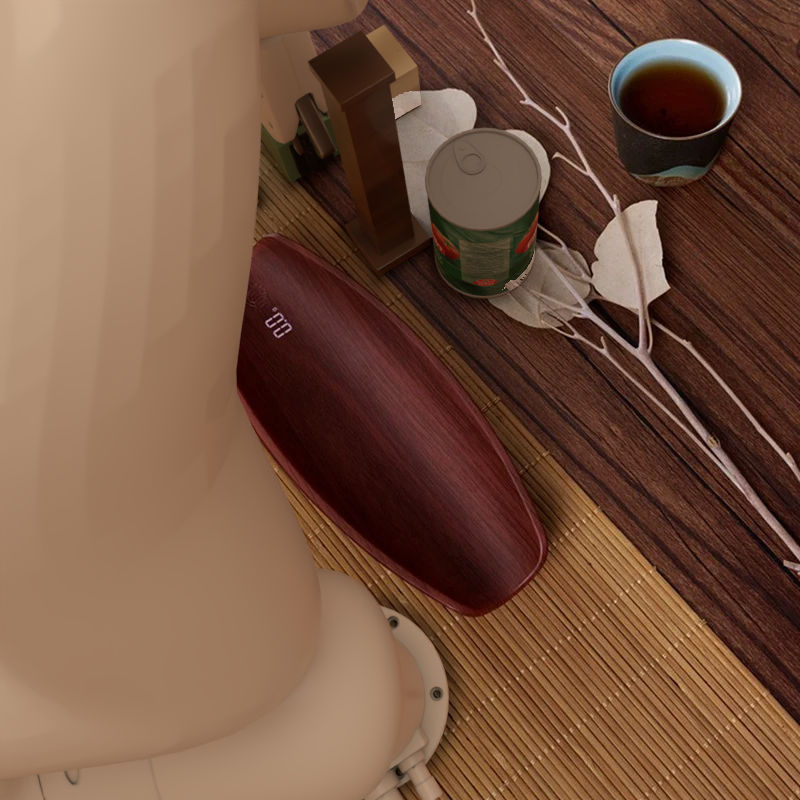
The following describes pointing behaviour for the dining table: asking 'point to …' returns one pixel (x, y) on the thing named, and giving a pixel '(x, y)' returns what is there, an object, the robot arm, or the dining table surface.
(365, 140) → the stand
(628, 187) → the dining table surface
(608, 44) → the dining table surface
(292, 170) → the green block
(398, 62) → the line block
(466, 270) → the canned tomato
